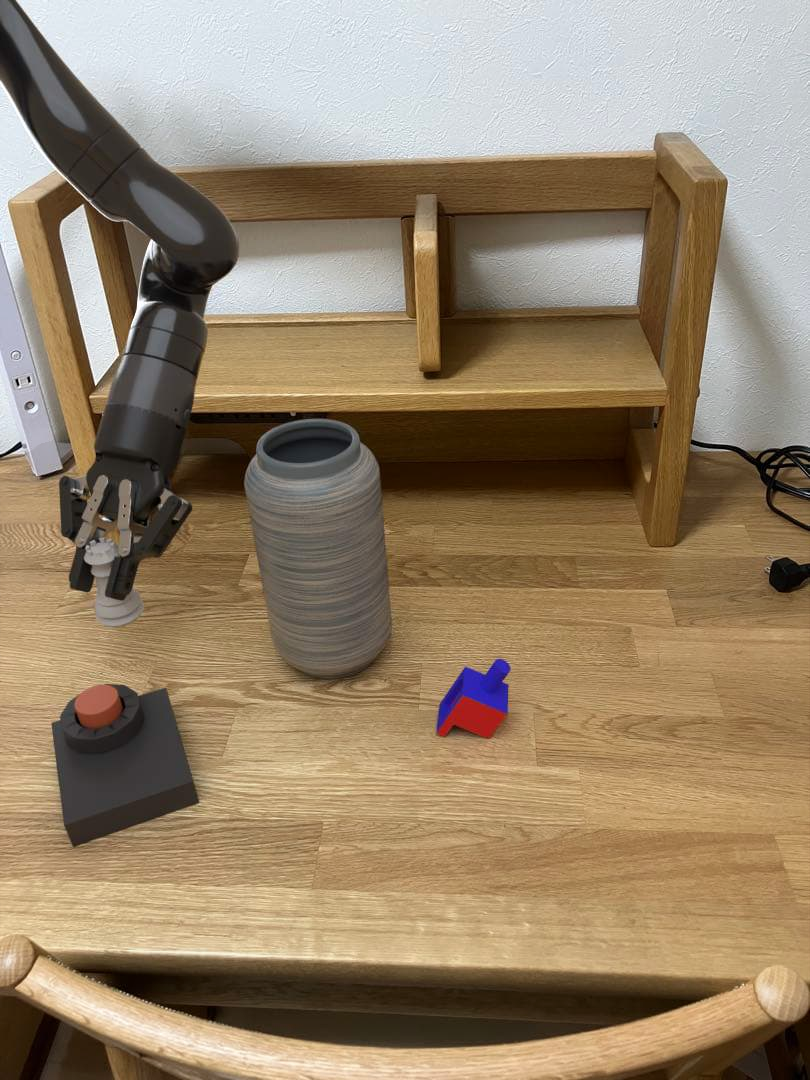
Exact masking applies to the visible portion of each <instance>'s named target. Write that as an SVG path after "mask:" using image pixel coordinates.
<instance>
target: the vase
mask: <svg viewBox="0 0 810 1080" xmlns="http://www.w3.org/2000/svg"><path fill="white" fill-rule="evenodd" d="M360 439H361V438H360V436H359V434H358V431H356V429H355V428H354V427H352V426H351V425H349V424H347V423H345V422H342V421H338V420H335V419H329V418H305V419H297V420H294V421H289V422H286V423H283V424H280V425H278V426H275V427H273V428H271V429H270V430H268V431H267V432H265V434H263V435H261V437H260V438H259V440H258V442H257V444H256V447H255V448H256V450H255V452H256V454H255V455H254V456H253V458H251V460H250V462H249V464H248V466H247V468H246V470H245V474H244V482H243V485H244V491H245V496H246V503H247V508H248V509H247V510H248V513H249V520H250V525H251V530H252V531H251V532H252V535H253V536H252V537H253V543H254V548H255V553H256V559H257V563H258V564H257V565H258V570H259V575H260V581H261V586H262V592H263V597H264V602H265V603H264V604H265V609H266V613H267V620H268V625H269V631H270V637H271V641H272V645H273V647H274V649H275V650H276V653H278V655H279V656H280V657H281V659H282V660H284V661H285V663H287V664H289V665H290V666H292V667H293V668H295V669H297V670H299V671H300V672H301V673H303V674H304V675H308V677H312V678H316V679H323V680H334V679H342V678H346V677H350V676H353V675H355V674H358V673H359V672H361V671H363V670H364V669H366V668H368V667H369V665H370V664H371V663H372V662H373V661H374V660H375V659H376V658H377V657H378V656H379V655H380V654H381V653H382V651H383V650H384V649H385V647H386V646H387V644H388V642H389V640H390V637H391V635H392V627H393V620H392V606H391V593H390V583H389V569H388V568H389V567H388V556H387V545H386V534H385V533H386V531H385V520H384V509H383V495H382V484H381V483H382V482H381V473H380V466H379V462H378V461H377V459H376V457H375V455H374V453H373V452H372V451H371V450H370V449H369V448H368V446H366V445H365V444H364V443H363V442H361V441H360Z"/></svg>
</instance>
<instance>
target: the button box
mask: <svg viewBox="0 0 810 1080" xmlns="http://www.w3.org/2000/svg"><path fill="white" fill-rule="evenodd" d="M103 685H110V686H112V687H114V688H115V689H116V690H117V691H118V694H119V698H120V701H121V704H122V707H123V711H122V714H121V716H120V717H119V718H118V719H117V720H115V721H114V722H112V723H111V724H110V725H107V726H104V727H100V728H97V729H91V728H86V727H84V726H83V725H82V724H81V723H80V721H79V718H78V715H77V713H76V710H75V707H74V704H75V700H76V698H77V697H78V695H79V694H77V695H76V696H74V697H73V698H72V699H70V700H68V702H67V704H66V705H65V707H64V708H63V711H62V712H61V714H59V715H60V716H59V720H56V721H53V722H51V731H52V740H53V749H54V755H55V763H56V771H57V781H58V787H59V788H58V789H59V795H60V804H61V814H62V819H63V826H64V828H65V832H66V834H67V836H68V838H69V840H70V843H71V845H72V847H73V848H75V847H79V846H80V845H81V846H82V845H84V844H86V843H89V842H93V841H95V840H98V839H101V838H104V837H107V836H109V835H112V834H115V833H118V832H120V831H124V830H126V829H127V830H128V829H130V828H132V827H135V826H138V825H141V824H143V823H144V824H145V823H146V822H149V821H152V820H156V819H158V818H160V817H163V816H166V815H169V814H172V813H174V812H179V811H181V810H183V809H186V808H189V807H193V806H195V805H197V804H200V800H199V796H198V793H197V789H196V786H195V781H194V778H193V775H192V772H191V768H190V764H189V760H188V758H187V755H186V750H185V748H184V744H183V741H182V740H183V739H182V737H181V733H180V730H179V727H178V724H177V719H176V716H175V713H174V709H173V706H172V703H171V699H170V695H169V693H168V690H167V687H163V688H162V687H161V688H160V689H157V690H154V691H150V692H146V693H143V694H140V695H139V694H138V692H137V691H135V690H134V689H132V688H131V687H129V686H127V685H125V684H118V683H103Z"/></svg>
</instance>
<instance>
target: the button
mask: <svg viewBox="0 0 810 1080" xmlns="http://www.w3.org/2000/svg"><path fill="white" fill-rule="evenodd" d="M77 695H78V697H77V698H76V700H75V704H74V707H75V710H76V713H77V715H78V718H79V721H80V723H81V724H82V725H83V726H84V727H86V728H91V729H97V728H100V727H104V726H107V725H110V724H111V723H112V722H114V721H115V720H117V719H118V718H119V717H120V716H121V714H122V711H123V707H122V704H121V701H120V698H119V694H118V691H117V690H116V689H115V688H114V687H112V686H110V685H104V684H96V685H93V686H90V687H88V688H86V689H84V690H83V691H82V692H80V693H79V694H77Z"/></svg>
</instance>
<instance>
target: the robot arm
mask: <svg viewBox="0 0 810 1080" xmlns="http://www.w3.org/2000/svg"><path fill="white" fill-rule="evenodd" d="M0 85H1V87H2V88H3V90H4V92H5V94H6V95H7V97H8V98H9V101H10V102H11V104H12V106H13V108H14V110H15V112H16V113H17V116H18V117H19V119H20V121H21V123H22V125H23V127H24V130H26V132H27V134H28V135H29V137H30V139H31V140H32V142H33V143H34V145H35V146H36V148H37V149H38V150H39V152H40V153H41V154H42V156H43V157H44V158H45V159H46V161H47V162H48V163H49V164H50V165H51V166H52V167H53V168H54V170H56V172H58V173H59V174H60V175H61V176H62V177H63V179H65V180H66V181H67V182H68V183H69V184H70V185H71V186H72V187H73V188H74V190H76V191H77V192H78V194H80V195H81V196H83V198H85V200H86V201H87V202H89V204H90V205H92V207H93V208H95V209H96V211H98V212H99V213H100V214H101V215H103V216H104V217H105V218H107V219H109V220H111V221H113V222H124V221H125V222H129V223H130V224H131V225H133V226H134V227H135V228H136V229H138V230H139V231H140V232H141V233H143V234H144V235H145V236H147V237H148V238H149V239H150V241H149V243H148V246H147V249H146V252H145V255H144V258H143V261H142V262H143V263H142V267H141V272H140V279H139V286H138V291H137V292H138V293H137V303H136V310H135V314H134V317H133V320H132V321H131V326H130V329H129V332H128V335H127V339H126V343H125V346H124V348H123V353H122V357H121V359H120V362H119V365H118V367H117V369H116V371H115V373H114V375H113V378H112V381H111V383H110V388H109V391H108V394H107V398H106V402H105V405H104V409H103V412H102V415H101V419H100V422H99V426H98V431H97V432H96V433H97V434H96V436H95V440H94V442H93V443H94V444H93V449H94V453H95V459H94V460H93V463H92V464H91V466H90V467H89V468H88V470H87V472H86V474H84V475H82V476H78V477H74V478H73V477H71V476H68V475H64V476H61V478H59V481H58V490H59V511H60V512H59V513H60V515H59V516H60V532H61V536H63V538H67V539H68V540H69V541H71V542H72V543H74V545H75V553H74V555H73V560H72V563H71V567H70V571H69V574H68V582H69V588H70V589H71V590H75V591H78V592H82V593H90V592H91V591H92V589H93V585H94V581H95V579H96V578H95V576H94V575H93V574H92V573H91V569H92V565H90V564H88V563H87V562H85V560H84V556H85V554H86V549H85V548H86V545H89V546H90V543H89V542H91V541H93V540H95V542H96V544H97V543H100V540H99V538H105V540H106V541H107V538H108V536H109V534H110V533H111V532H114V531H115V529H116V528H117V530H118V531H119V538H118V546H119V547H118V553H119V557H116V556H115V557H114V561H113V564H112V568H111V572H110V575H109V579H108V583H107V586H106V590H105V596H106V597H108V598H112V599H116V600H121V601H123V600H124V599H125V598H126V595H129V594H130V592H131V591H132V587H133V588H134V583H135V580H136V576H137V572H138V568H139V565H140V563H141V562H142V561H143V560H146V559H149V558H150V559H151V558H154V559H160V558H161V557H162V556H163V554H164V553H165V552H166V550H167V548H168V547H169V545H170V544H171V542H172V541H173V539H174V538H175V536H176V535H177V533H178V532H179V530H180V529H181V527H182V526H183V524H184V523H185V521H186V520H187V519H188V517H189V516H190V514H191V512H192V511H193V504H192V503H191V502H190V501H188V500H186V499H184V498H182V497H180V496H178V495H177V494H176V493H174V492H173V491H172V483H171V474H172V473H174V472H175V471H176V469H177V467H178V462H179V459H180V454H181V452H182V446H183V444H184V440H185V436H186V433H187V430H188V429H187V428H188V425H189V421H190V418H191V414H192V411H193V406H194V402H195V396H196V395H195V393H196V386H197V381H198V377H199V375H200V370H201V367H202V362H203V359H204V355H205V353H206V352H205V351H206V348H207V343H208V334H209V330H208V325H207V324H206V321H205V320H204V317H205V313H206V308H207V304H208V299H209V296H210V293H211V291H212V288H213V286H214V285H215V284H217V283H218V282H219V281H221V280H223V279H224V278H225V277H227V276H228V275H229V274H230V273H232V271H233V270H234V268H235V267H236V265H237V263H238V260H239V256H240V242H239V237H238V235H237V232H236V230H235V228H234V226H233V225H232V223H231V221H230V219H229V217H228V216H226V215H225V213H224V212H223V210H222V209H221V208H220V207H219V206H218V205H217V204H215V202H213V201H212V200H211V199H210V198H209V197H207V196H206V195H205V194H204V193H202V192H201V191H200V190H198V189H197V188H196V187H194V186H192V185H191V184H190V183H188V182H187V181H186V180H184V179H183V178H181V177H180V176H179V175H177V173H175V172H173V171H171V170H170V169H168V168H167V167H165V166H163V165H162V164H160V163H159V162H158V161H156V159H154V158H153V157H152V156H151V154H149V152H148V151H147V150H146V149H145V148H144V147H143V146H142V145H141V143H139V142H138V140H137V139H136V138H135V137H134V136H132V134H131V133H130V132H129V130H127V129H126V128H125V127H124V126H123V125H122V124H121V123H120V122H119V121H118V120H117V119H116V118H115V116H114V115H112V114H111V112H109V110H107V108H105V107H104V106H103V105H102V103H101V102H100V101H99V100H98V99H97V98H96V97H95V96H94V95H93V93H91V92H90V91H89V89H88V88H87V87H86V86H85V85H84V84H83V82H82V81H81V79H79V78H78V77H77V76H76V74H74V72H73V71H72V70H71V69H70V68H69V66H68V65H67V64H66V63H65V61H64V60H63V59H62V58H61V57H60V55H59V54H58V53H57V52H56V50H55V49H54V47H53V46H52V45H51V44H50V43H49V41H48V39H46V38H45V36H44V35H43V33H41V31H40V29H38V27H37V25H35V23H34V22H33V21H32V19H31V18H30V17H29V15H28V14H27V13H26V12H25V10H24V9H23V8H22V6H21V5H20V3H19V2H18V1H17V0H0ZM157 509H158V512H157V513H156V515H155V516H154V518H153V512H154V511H156V510H157ZM100 516H102V517H100ZM90 547H91V546H90Z"/></svg>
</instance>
